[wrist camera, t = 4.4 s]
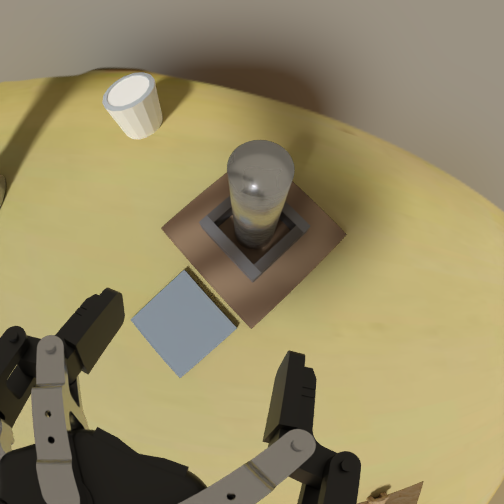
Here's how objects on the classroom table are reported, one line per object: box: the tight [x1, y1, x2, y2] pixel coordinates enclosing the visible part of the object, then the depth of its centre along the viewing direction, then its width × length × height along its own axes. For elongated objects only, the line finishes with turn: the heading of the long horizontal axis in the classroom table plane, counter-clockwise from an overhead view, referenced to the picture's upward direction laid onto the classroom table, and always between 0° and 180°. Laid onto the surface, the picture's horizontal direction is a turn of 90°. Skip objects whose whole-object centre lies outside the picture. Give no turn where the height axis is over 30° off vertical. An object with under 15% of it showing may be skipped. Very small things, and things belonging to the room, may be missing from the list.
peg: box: [227, 140, 294, 249], centre depth 22 cm, size 4×4×13 cm
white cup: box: [103, 72, 163, 139], centre depth 30 cm, size 7×7×7 cm
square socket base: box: [161, 172, 347, 329], centre depth 28 cm, size 14×14×3 cm
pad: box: [131, 270, 237, 378], centre depth 27 cm, size 8×8×1 cm
